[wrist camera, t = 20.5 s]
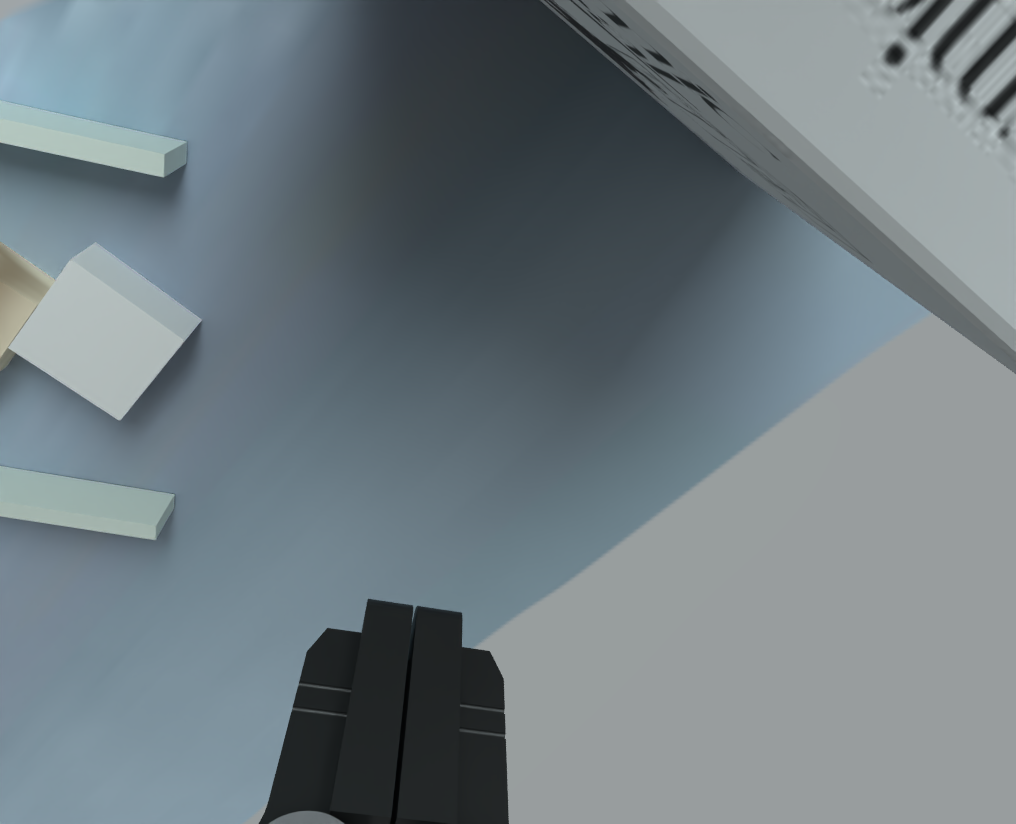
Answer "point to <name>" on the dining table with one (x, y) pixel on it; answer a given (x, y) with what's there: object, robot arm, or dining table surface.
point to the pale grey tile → (104, 330)
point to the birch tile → (17, 297)
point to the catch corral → (59, 494)
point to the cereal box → (853, 126)
